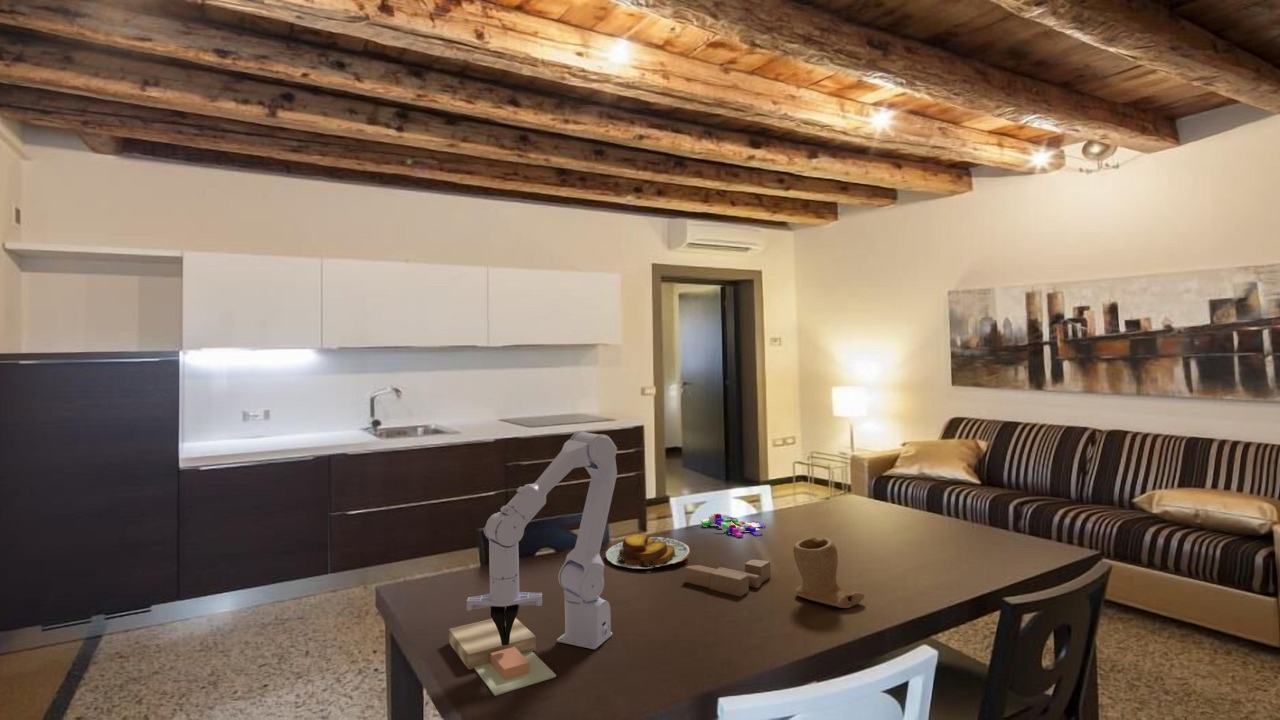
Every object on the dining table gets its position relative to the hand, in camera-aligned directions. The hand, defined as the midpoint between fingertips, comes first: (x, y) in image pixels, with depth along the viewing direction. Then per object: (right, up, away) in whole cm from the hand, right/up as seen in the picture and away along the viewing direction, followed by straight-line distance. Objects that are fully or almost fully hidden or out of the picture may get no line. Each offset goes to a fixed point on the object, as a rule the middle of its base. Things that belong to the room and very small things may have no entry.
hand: (505, 642), depth 124 cm
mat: (+3, -4, -4) cm, 6 cm away
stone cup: (+72, -3, +28) cm, 77 cm away
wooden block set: (+51, -4, +44) cm, 67 cm away
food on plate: (+29, -4, +64) cm, 70 cm away
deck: (-4, -4, +7) cm, 9 cm away
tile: (+1, -4, -3) cm, 5 cm away
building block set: (+60, -4, +96) cm, 114 cm away
